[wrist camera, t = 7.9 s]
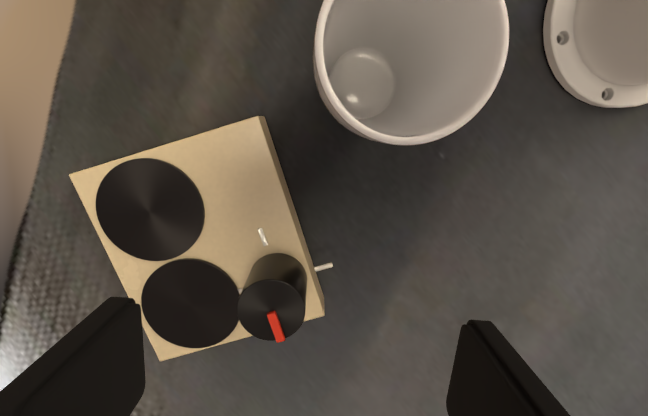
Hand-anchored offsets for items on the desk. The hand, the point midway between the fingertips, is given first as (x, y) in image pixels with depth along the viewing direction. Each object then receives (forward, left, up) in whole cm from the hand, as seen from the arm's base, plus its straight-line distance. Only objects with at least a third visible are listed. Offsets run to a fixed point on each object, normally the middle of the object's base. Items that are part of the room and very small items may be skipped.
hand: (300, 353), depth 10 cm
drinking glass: (-6, -7, -19) cm, 21 cm away
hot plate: (+8, +1, -19) cm, 21 cm away
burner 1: (+11, -3, -16) cm, 19 cm away
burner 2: (+11, +4, -16) cm, 20 cm away
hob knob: (+4, +4, -16) cm, 17 cm away
